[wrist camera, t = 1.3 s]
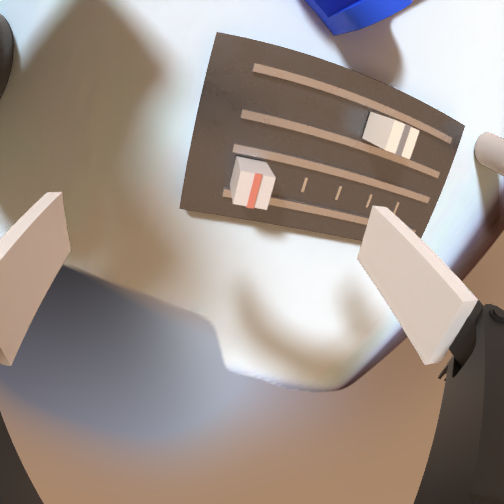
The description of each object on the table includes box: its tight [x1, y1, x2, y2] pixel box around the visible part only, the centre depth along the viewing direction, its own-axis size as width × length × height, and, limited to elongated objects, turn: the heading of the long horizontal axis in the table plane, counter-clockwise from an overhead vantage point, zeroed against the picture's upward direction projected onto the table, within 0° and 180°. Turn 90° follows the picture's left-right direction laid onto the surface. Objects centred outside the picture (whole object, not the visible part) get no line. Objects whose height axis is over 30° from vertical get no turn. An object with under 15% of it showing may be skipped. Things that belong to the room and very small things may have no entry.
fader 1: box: [230, 156, 276, 210], centre depth 29 cm, size 3×3×5 cm
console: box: [180, 32, 465, 241], centre depth 32 cm, size 30×18×3 cm, turn 76°
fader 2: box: [362, 112, 419, 159], centre depth 28 cm, size 3×3×5 cm
